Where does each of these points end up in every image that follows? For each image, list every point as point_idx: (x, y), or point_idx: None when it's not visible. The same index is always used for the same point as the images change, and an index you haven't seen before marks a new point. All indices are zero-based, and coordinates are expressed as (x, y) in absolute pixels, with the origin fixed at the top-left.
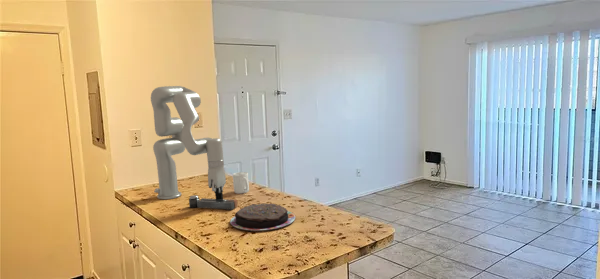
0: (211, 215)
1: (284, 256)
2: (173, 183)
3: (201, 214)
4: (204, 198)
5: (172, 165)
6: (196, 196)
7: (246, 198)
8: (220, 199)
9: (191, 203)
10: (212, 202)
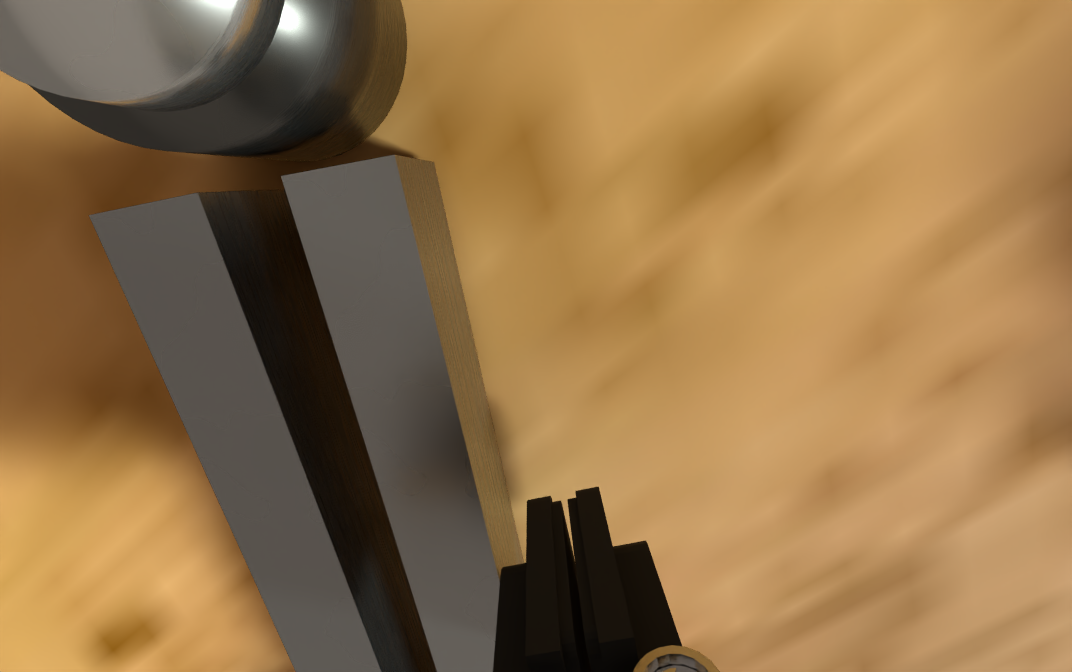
0: (112, 666)
1: None
2: None
3: (44, 515)
4: (413, 238)
5: None
6: (107, 48)
7: (1025, 640)
8: None
9: None
10: (282, 614)
